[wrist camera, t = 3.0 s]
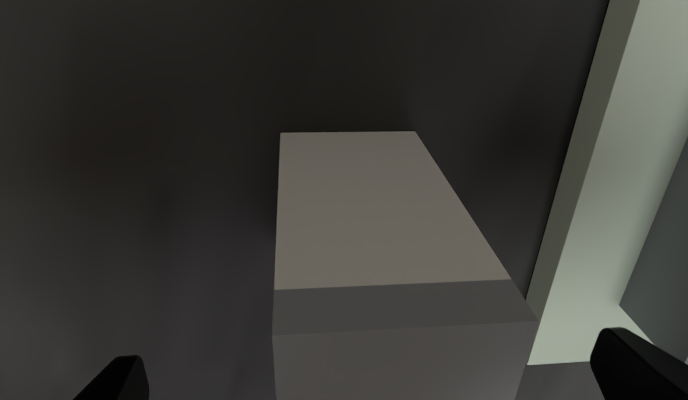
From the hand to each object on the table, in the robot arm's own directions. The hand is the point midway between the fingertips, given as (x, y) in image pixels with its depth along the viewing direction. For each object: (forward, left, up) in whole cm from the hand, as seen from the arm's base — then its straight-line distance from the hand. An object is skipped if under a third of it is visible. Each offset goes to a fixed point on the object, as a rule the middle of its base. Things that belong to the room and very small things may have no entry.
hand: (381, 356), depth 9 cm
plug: (0, 0, -7) cm, 7 cm away
